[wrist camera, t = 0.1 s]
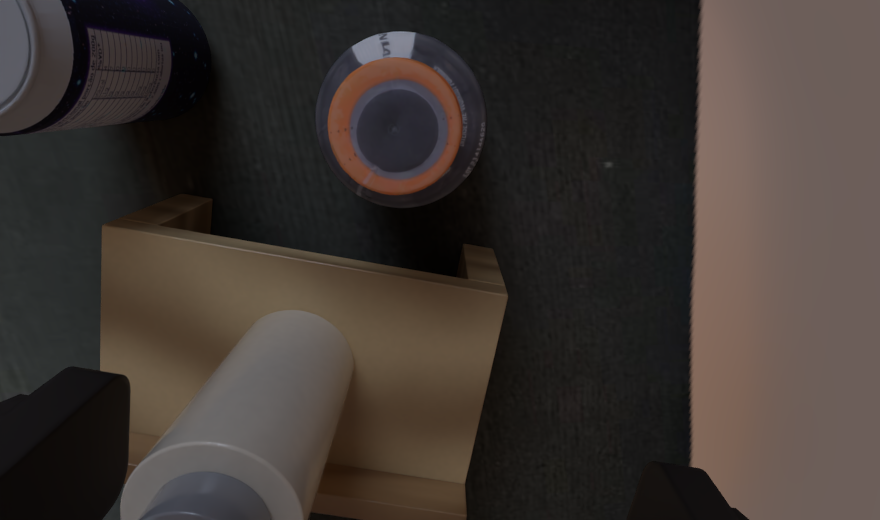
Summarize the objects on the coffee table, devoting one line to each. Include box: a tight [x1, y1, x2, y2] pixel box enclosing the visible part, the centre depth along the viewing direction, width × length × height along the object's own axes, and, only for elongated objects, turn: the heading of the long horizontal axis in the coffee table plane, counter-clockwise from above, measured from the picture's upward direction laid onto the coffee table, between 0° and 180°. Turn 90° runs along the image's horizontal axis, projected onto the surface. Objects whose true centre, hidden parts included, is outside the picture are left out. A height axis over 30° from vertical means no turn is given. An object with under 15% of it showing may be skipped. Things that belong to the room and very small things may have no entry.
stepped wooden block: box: [100, 194, 508, 520], centre depth 26 cm, size 10×16×9 cm, turn 80°
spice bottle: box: [120, 310, 354, 520], centre depth 18 cm, size 5×5×10 cm
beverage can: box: [0, 0, 211, 136], centre depth 21 cm, size 6×6×12 cm
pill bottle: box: [315, 32, 487, 208], centre depth 22 cm, size 6×6×11 cm
